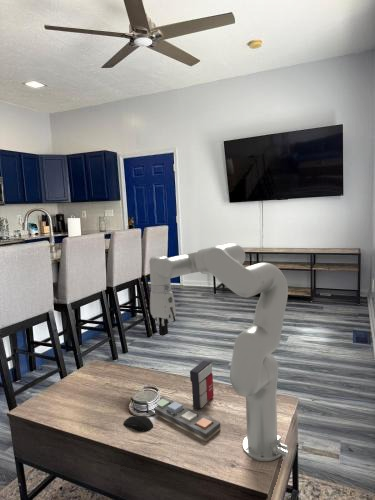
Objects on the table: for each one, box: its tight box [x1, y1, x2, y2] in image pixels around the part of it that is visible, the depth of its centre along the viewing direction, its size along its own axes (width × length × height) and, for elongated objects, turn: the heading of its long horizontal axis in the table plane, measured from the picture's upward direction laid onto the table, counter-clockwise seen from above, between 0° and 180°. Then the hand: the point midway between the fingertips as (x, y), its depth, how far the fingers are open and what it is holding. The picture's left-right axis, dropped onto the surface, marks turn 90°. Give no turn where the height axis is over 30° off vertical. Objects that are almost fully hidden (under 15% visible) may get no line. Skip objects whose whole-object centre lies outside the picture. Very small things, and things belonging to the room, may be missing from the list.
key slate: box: [167, 401, 184, 415], centre depth 133 cm, size 4×4×2 cm
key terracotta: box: [196, 418, 212, 430], centre depth 124 cm, size 4×4×2 cm
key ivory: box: [181, 411, 197, 422], centre depth 129 cm, size 4×4×2 cm
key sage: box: [157, 399, 170, 409], centre depth 138 cm, size 4×4×2 cm
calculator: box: [189, 360, 214, 410], centre depth 142 cm, size 11×4×15 cm, turn 147°
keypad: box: [154, 396, 222, 442], centre depth 131 cm, size 29×8×3 cm, turn 48°
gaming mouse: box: [123, 415, 154, 433], centre depth 129 cm, size 6×15×4 cm, turn 63°
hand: (163, 334), depth 138 cm, fingers closed
